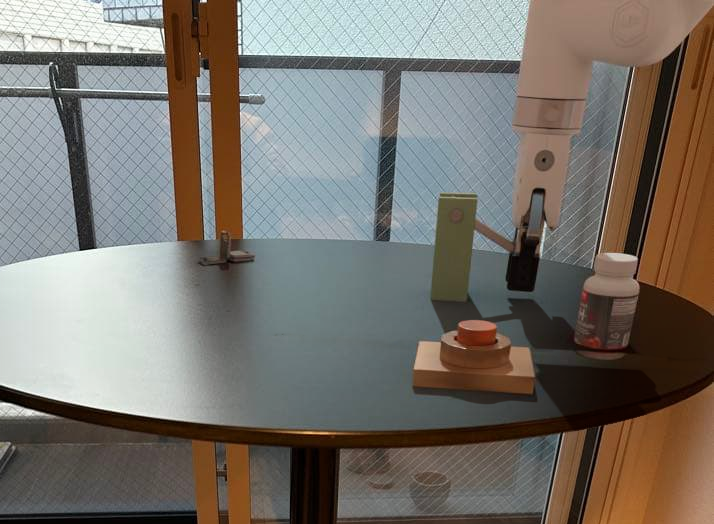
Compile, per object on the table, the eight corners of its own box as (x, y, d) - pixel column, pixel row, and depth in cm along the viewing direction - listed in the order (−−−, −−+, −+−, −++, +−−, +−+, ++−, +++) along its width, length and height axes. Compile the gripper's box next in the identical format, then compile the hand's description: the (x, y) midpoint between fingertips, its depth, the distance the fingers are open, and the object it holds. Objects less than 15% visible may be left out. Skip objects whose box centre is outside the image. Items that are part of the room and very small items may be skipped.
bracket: (495, 299, 103) (509, 192, 97) (497, 317, 96) (512, 202, 89) (402, 294, 105) (409, 188, 99) (397, 312, 98) (404, 199, 91)
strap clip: (248, 256, 125) (247, 227, 123) (256, 260, 123) (255, 230, 121) (196, 261, 122) (195, 231, 120) (204, 265, 120) (202, 235, 117)
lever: (528, 273, 98) (545, 250, 97) (530, 279, 96) (547, 255, 94) (439, 215, 97) (454, 191, 95) (438, 220, 94) (454, 194, 93)
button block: (527, 363, 81) (532, 329, 79) (532, 394, 73) (538, 357, 72) (417, 357, 83) (420, 323, 81) (412, 386, 75) (414, 349, 73)
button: (494, 339, 78) (496, 321, 77) (495, 350, 75) (497, 331, 74) (456, 336, 78) (458, 318, 77) (456, 347, 75) (457, 329, 74)
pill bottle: (560, 349, 85) (577, 253, 80) (599, 343, 87) (618, 249, 82) (596, 364, 81) (616, 264, 76) (636, 357, 83) (658, 259, 78)
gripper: (592, 124, 81) (556, 306, 91) (574, 114, 95) (544, 273, 104) (516, 120, 82) (489, 301, 91) (509, 111, 96) (486, 269, 105)
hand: (519, 285), depth 98 cm, fingers closed on lever, 3 cm apart
